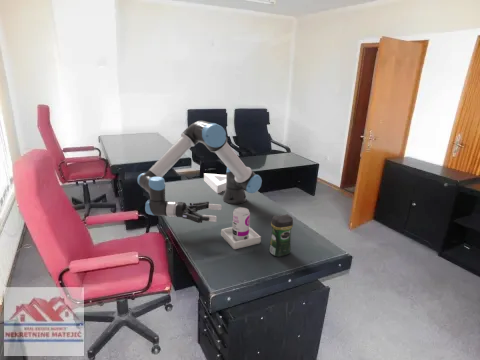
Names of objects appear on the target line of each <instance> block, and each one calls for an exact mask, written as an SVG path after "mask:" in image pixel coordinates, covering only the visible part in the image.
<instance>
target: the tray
mask: <svg viewBox="0 0 480 360" xmlns="http://www.w3.org/2000/svg"><path fill="white" fill-rule="evenodd" d="M232 227H233V226H230V227H226V228H221V230H220V236H221V237H222V239H224V241H225V242H226V243H227V244H228V245H230V247H231V248H232V249H233V250H237V249H242V248H245V247H250V246H255V245H258V244H261V242H262V236H261V235H259V233H258V232H256V231H255V230H254V229H253V228H252V227H250V226H249V238H248V239H245V240H240V241H236V240H234V238H233V237H232Z"/></svg>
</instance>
